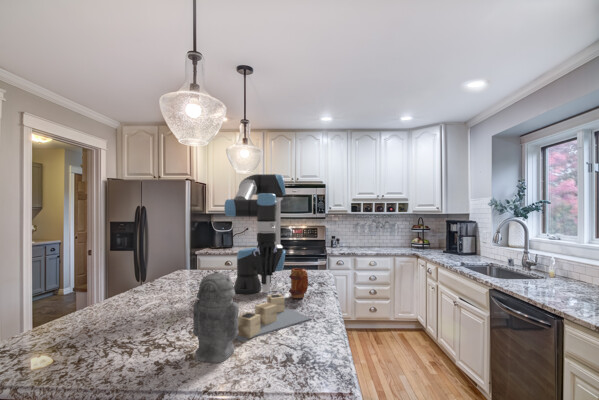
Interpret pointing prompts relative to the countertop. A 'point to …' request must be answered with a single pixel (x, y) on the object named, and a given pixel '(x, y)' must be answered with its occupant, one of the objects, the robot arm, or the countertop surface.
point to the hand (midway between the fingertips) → (266, 291)
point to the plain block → (266, 312)
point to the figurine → (215, 318)
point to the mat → (279, 323)
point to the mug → (298, 283)
